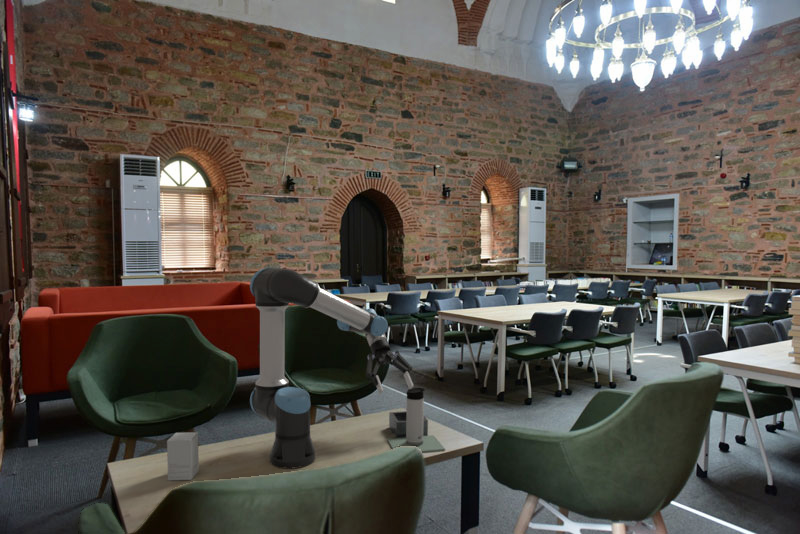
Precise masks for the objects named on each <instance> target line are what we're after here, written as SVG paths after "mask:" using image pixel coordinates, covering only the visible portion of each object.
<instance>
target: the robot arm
mask: <svg viewBox="0 0 800 534" xmlns="http://www.w3.org/2000/svg"><path fill="white" fill-rule="evenodd" d="M249 288H250V289H249V290H250V292H251V295H252V296H253V297H255V308H257V309H258V310H259V378H257V380H255V385H254V386H255V387H254V388H253V390H252V391H251V394H250V396H249V397H250V398H249V404H250V405H249V406H250V407H251V410H252V411H253V412H254V413H255V414H256V415H257V416H258V417H260V418H261V419H263V420H264V419H265V420H267V421H269V422H271V423H273V424H275V425H274V430H275V432H274V435H275V436H274V440H273V444H272V448H271V451H270V454H269V463H270V465H272V466H274V467H276V468H280V467H286V468H285V469H293V468H292V467H298V468H300V467H299V466H303V467H305V466H308V465H311V464H312V463H313V462H315V460H316V449H315V446H314V443H313V440H312V438H311V405H312V404H311V395H310V394H309V392H308V391H307V390H306V389H303V388H302V387H295V386H290V385H289V384H290V382H289V381H290V380H289V379H288V378H286V376H285V363H286V361H285V357H286V356H285V351H286V350H285V348H286V347H285V333H286V331H285V323H286V322H285V321H286V320H285V319H286V318H285V314H286V310H287V309H288V307H289V306H290V304H293V305H297V306H300V307H302V308H305V309H308V308H311V309H314V310H315V311H318V312H320V313H322V314H323V315H326V316H329V317H331V318H332V319H335V320H336V324H337V327H338V329H340V330H341V331H345V332H355V333H360V334H364V335H365V338H366V340H367V343H368V346H369V347H370V351H371V353H369V354H368V355H367V357H366V360H367V364H366V370H365V371H366V373H365V378H366V379H369V380H371V381H372V384H373V386H375V387H376V388H377V389H376V390H377V392H378V394H379V395H381V394H382V393H383V392H384V388H383V385H382V383H381V380H380V377H379V375H377V373H378V370H379V368H380V366H383V365H390V366H393V367H395V368H396V369H398V370H399V371H400V372H402V373H404V374H403V378H404V380H405V382H406V385H407V387H408V390H409V389H412V388H414V383H413V381H412V379H413V377H412V375H411V372H412V370H413V366H412V365H410V363H409V362H408V361H407V360H406V359H405V358H404V357H403V356H402V355H401V354H400V351H399V350H395V351H394V352H392V350H391V346H390V343H389V341H388V338H387V337H386V332H387V330H388V328H389V327H388V326H389V325H388V321H387V319H386V318H385V317H383V316H381V315H378V314H377V312H376V310H375V309H373V308H367V309H366V308H365V309H363V308H362V307H359V306H357V305H355V304H353V303H352V302H349V301H347V300H345V299H343V298H341V297H339V296H337V295H335V294H333V293H331V292H330V291H327V290H326V289H323V288H321V287H320V285H319V283H318V282H316V281H315V280H312V279H310V278H309V277H307V276H305V275H304V274H301V273H299V272H297V271H296V270H293V269H289V268H276V267H265V268H261V269H258V270H257V271H256V272H255V273H253V275H252V277H251V279H250V283H249ZM373 360H375V361H376V363H375V365H374V367H373ZM372 368H373V369H372Z"/></svg>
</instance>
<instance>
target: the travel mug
mask: <svg viewBox="0 0 800 534" xmlns="http://www.w3.org/2000/svg"><path fill="white" fill-rule="evenodd" d="M424 392H425V387H412V389H409V388H408V390H406V411H407V412H406V437H405V438H406V443H407V444H409V445H414V446H416V445H421V444H423V418H424V416H425V415H424V410H425V409H424V407H425V406H424V404H425V402H424V399H425V397H424V396H425V395H424Z"/></svg>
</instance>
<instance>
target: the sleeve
mask: <svg viewBox="0 0 800 534" xmlns="http://www.w3.org/2000/svg"><path fill="white" fill-rule="evenodd" d="M406 412H407V410H406V411H392V412H389V413H388V414H389V416H388V417H389V418H388V421H389V424H388V425H389V427H390V428H389V427H388V428H389V429H390V431H391V433H392V434H393V436H394V437H395V438H406ZM428 425H429V420H428V419H427V418H426V416H425V415H424V418H423V436H429V434H428V433H429V431H428V428H429V426H428Z"/></svg>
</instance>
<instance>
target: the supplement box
mask: <svg viewBox="0 0 800 534" xmlns="http://www.w3.org/2000/svg"><path fill="white" fill-rule="evenodd" d="M166 448H167V452H166V453H167V455H166V456H167V459H166V460H167V481H191V480H193V478H194V477H195V476H196V475H197V474H198V473H199V471H200V470H199V469H200V467H199V465H200V463H199V460H200V459H199V433H198V432H197V431H196V432H194V431H193V432H175V433H174V434H172V436H171V437H169V439H168V440H166Z"/></svg>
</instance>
